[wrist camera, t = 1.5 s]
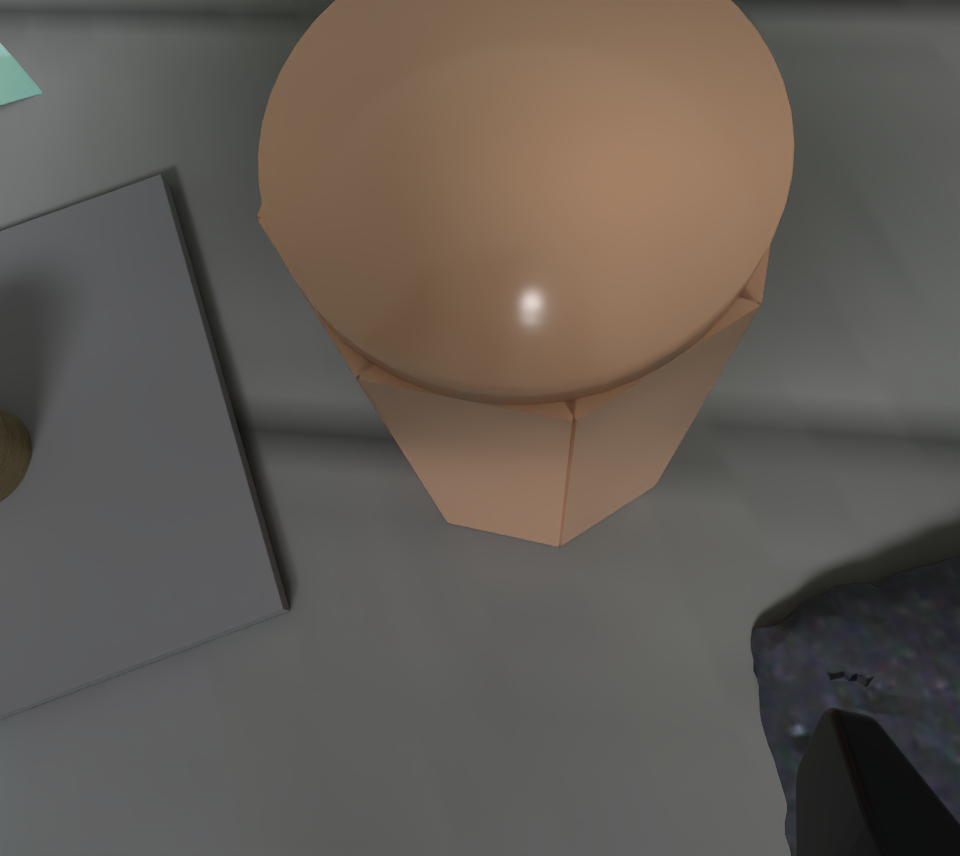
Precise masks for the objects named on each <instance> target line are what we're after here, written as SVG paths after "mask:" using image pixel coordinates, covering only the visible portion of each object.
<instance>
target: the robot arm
mask: <svg viewBox="0 0 960 856" xmlns="http://www.w3.org/2000/svg"><path fill="white" fill-rule="evenodd" d="M796 856H960V823H959V822H958V821H957V820H956V818H955V817H954V816H953V815H952V813H951V812H950V811H949V810H948V809H947V807H946V806H945V805H944V804H943V802H942V801H941V800H940V799H939V797H938V796H937V795H936V794H935V792H934V791H933V790H932V789H931V787H930V786H929V785H928V784H927V782H926V781H925V780H924V779H923V777H922V776H921V775H920V774H919V772H918V771H917V770H916V769H915V767H914V766H913V765H912V764H911V763H910V761H909V760H908V759H907V758H906V756H905V755H904V754H903V753H902V751H901V750H900V749H899V748H898V746H897V745H896V744H895V743H894V741H893V740H892V739H891V738H890V736H889V735H888V734H887V733H886V731H885V730H884V729H883V728H882V726H881V725H880V724H879V723H878V722H877V721H876V720H875V719H873V718H872V717H870V716H868V715H865V714H860V713H856V712H852V711H848V710H844V709H839V708H828V709H826V710H825V711H824V712H823V714H822V715H821V717H820V719H819V721H818V723H817V725H816V728H815V730H814V732H813V734H812V737H811V739H810V741H809V743H808V746H807V748H806V750H805V752H804V754H803V757H802V759H801V761H800V764H799V767H798V771H797V777H796Z"/></svg>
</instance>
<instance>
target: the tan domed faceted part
mask: <svg viewBox="0 0 960 856" xmlns="http://www.w3.org/2000/svg"><path fill="white" fill-rule="evenodd" d="M793 158H794V133H793V123H792V112H791V108H790V105H789V101H788V97H787V93H786V89H785V85H784V82H783V79H782V77H781V75H780V72H779V70H778V68H777V65H776V63H775V61H774V58H773V56H772V54H771V52H770V51H769V49H768V48H767V46H766V44H765V43H764V41H763V39H762V38H761V36H760V34H759V33H758V31H757V30H756V28H755V27H754V26H753V25H752V23H751V22H750V21H749V20H748V19H747V17H746V16H745V15H744V14H743V12H742V11H741V10H740V9H739V8H738V6H737V5H735V4H734V3H733V2H732V1H731V0H335V1H334V2H333V3H332V4H331V5H330V6H329V7H328V8H327V9H326V10H325V11H324V12H323V13H322V14H321V15H320V16H319V17H318V18H317V19H316V20H315V21H314V22H313V23H312V25H311V26H310V27H309V29H308V30H307V31H306V32H305V34H304V35H303V36H302V37H301V39H300V40H299V41H298V43H297V44H296V45H295V47H294V49H293V50H292V52H291V54H290V56H289V57H288V59H287V61H286V62H285V64H284V66H283V67H282V69H281V71H280V73H279V76H278V78H277V80H276V83H275V85H274V87H273V90H272V92H271V94H270V96H269V100H268V104H267V107H266V111H265V115H264V118H263V122H262V126H261V134H260V142H259V150H258V176H259V188H260V194H261V199H262V204H261V207H260V209H259V212H258V215H257V217H258V218H259V219H258V221H259V223H260V224H261V226H262V228H263V229H264V231H265V232H266V234H267V236H268V237H269V239H270V240H271V242H272V244H273V245H274V247H275V249H276V250H277V252H278V253H279V255H280V257H281V258H282V260H283V261H284V263H285V265H286V266H287V268H288V270H289V272H290V273H291V275H292V276H293V278H294V280H295V281H296V283H297V284H298V286H299V287H300V289H301V291H302V292H303V294H304V295H305V297H306V299H307V300H308V302H309V303H310V305H311V307H312V308H313V310H314V311H315V313H316V315H317V316H318V318H319V320H320V321H321V323H322V324H323V326H324V328H325V329H326V331H327V332H328V334H329V336H330V337H331V339H332V341H333V342H334V344H335V345H336V347H337V349H338V350H339V352H340V353H341V355H342V357H343V358H344V360H345V361H346V363H347V365H348V366H349V368H350V370H351V371H352V373H353V374H354V376H355V378H356V379H357V381H358V382H359V384H360V385H361V387H362V389H363V390H364V392H365V393H366V395H367V397H368V398H369V400H370V401H371V403H372V404H373V406H374V408H375V409H376V411H377V412H378V414H379V415H380V417H381V419H382V420H383V422H384V423H385V425H386V426H387V428H388V430H389V431H390V433H391V434H392V436H393V437H394V439H395V441H396V442H397V444H398V445H399V447H400V448H401V450H402V452H403V453H404V455H405V456H406V458H407V460H408V461H409V463H410V464H411V466H412V467H413V469H414V471H415V472H416V474H417V475H418V477H419V478H420V480H421V482H422V483H423V485H424V486H425V488H426V489H427V491H428V493H429V494H430V496H431V497H432V499H433V500H434V502H435V504H436V505H437V507H438V508H439V510H440V511H441V513H442V515H443V516H444V518H445V519H446V521H448V523H451V524H455V525H460V526H465V527H469V528H474V529H478V530H483V531H488V532H492V533H497V534H501V535H506V536H511V537H515V538H520V539H525V540H529V541H534V542H538V543H543V544H548V545H552V546H557V547H559V544H560V546H562V545H564V544H566V543H567V542H569V541H570V540H572V539H573V538H575V537H576V536H578V535H579V534H581V533H583V532H584V531H586V530H587V529H589V528H590V527H592V526H593V525H595V524H597V523H598V522H600V521H601V520H603V519H604V518H606V517H607V516H609V515H611V514H612V513H614V512H615V511H617V510H618V509H620V508H621V507H623V506H625V505H626V504H628V503H629V502H631V501H632V500H634V499H635V498H637V497H638V496H640V495H642V494H643V493H645V492H646V491H648V490H649V489H651V488H652V487H654V486H655V485H656V483H657V482H658V480H659V478H660V476H661V475H662V473H663V471H664V470H665V468H666V466H667V464H668V463H669V461H670V459H671V458H672V456H673V454H674V452H675V451H676V449H677V447H678V446H679V444H680V442H681V440H682V439H683V437H684V435H685V434H686V432H687V430H688V428H689V427H690V425H691V423H692V422H693V420H694V418H695V416H696V415H697V413H698V411H699V410H700V408H701V406H702V404H703V403H704V401H705V399H706V398H707V396H708V394H709V392H710V391H711V389H712V387H713V386H714V384H715V382H716V380H717V379H718V377H719V375H720V374H721V372H722V370H723V368H724V367H725V365H726V363H727V361H728V360H729V358H730V356H731V355H732V353H733V351H734V349H735V348H736V346H737V344H738V343H739V341H740V339H741V337H742V336H743V334H744V332H745V331H746V329H747V327H748V325H749V324H750V322H751V320H752V319H753V317H754V315H755V313H756V312H757V310H758V308H759V307H760V305H761V303H762V299H763V292H764V286H765V279H766V272H767V265H768V259H769V252H770V245H771V240H772V238H773V236H774V233H775V231H776V228H777V226H778V223H779V221H780V218H781V216H782V213H783V210H784V208H785V205H786V201H787V196H788V192H789V187H790V183H791V179H792V173H793Z"/></svg>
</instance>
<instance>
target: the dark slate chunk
mask: <svg viewBox="0 0 960 856" xmlns="http://www.w3.org/2000/svg"><path fill="white" fill-rule="evenodd" d="M751 650H752V655H753V660H754V669H753V670H754V672H755V675H756V677H757V679H758V683H759V700H760V715H761V721H762V725H763V729H764V732H765V736H766V739H767V742H768V745H769V748H770V750H771V753H772V755H773V758H774V761H775V764H776V768H777V772H778V775H779V778H780V781H781V784H782V788H783V791H784V794H785V798H786V802H787V814H786V819H785V835H786V839H787V842H788V844H789V846H790V851H791V856H796V777H797V771H798V767H799V764H800V761H801V759H802V757H803V754H804V752H805V750H806V748H807V746H808V743H809V741H810V739H811V737H812V734H813V732H814V730H815V728H816V725H817V723H818V721H819V719H820V717H821V715H822V714H823V712H824V711H825V710H826V709H828V708H839V709H844V710H848V711H852V712H856V713H860V714H865V715H868V716H870V717H872V718H873V719H875V720H876V721H877V722H878V723H879V724H880V725H881V726H882V728H883V729H884V730H885V731H886V733H887V734H888V735H889V736H890V738H891V739H892V740H893V741H894V743H895V744H896V745H897V746H898V748H899V749H900V750H901V751H902V753H903V754H904V755H905V756H906V758H907V759H908V760H909V761H910V763H911V764H912V765H913V766H914V767H915V769H916V770H917V771H918V772H919V774H920V775H921V776H922V777H923V779H924V780H925V781H926V782H927V784H928V785H929V786H930V787H931V789H932V790H933V791H934V792H935V794H936V795H937V796H938V797H939V799H940V800H941V801H942V802H943V804H944V805H945V806H946V807H947V809H948V810H949V811H950V812H951V813H952V815H953V816H954V817H955V818H956V820H957V821H958V822H959V823H960V557H955V558H951V559H947V560H944V561H941V562H938V563H935V564H932V565H927V566H921V567H916V568H913V569H911V570H909V571H907V572H900V573H897V574H895V575H893V576H891V577H889V578H887V579H885V580H884V581H882V582H881V583H880V584H879V585H878V586H877V587H876V586H873V585H871V584H869V583H853V584H847V585H840V586H835V587H834V588H833V589H831V590H830V591H829V592H827V593H825V594H824V595H822V596H820V597H815V598H811V599H808V600H806V601H805V602H803V603H802V604H801V605H800V606H799V607H798V608H797V609H796V610H795V611H794V612H792V613H791V614H790V616H789V617H788V619H787V620H785V621H783V622H782V623H780V624H778V625H775V626H770V627H763V628H757V629H754V630H753V632H752V638H751Z"/></svg>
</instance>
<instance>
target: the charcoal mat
mask: <svg viewBox="0 0 960 856" xmlns="http://www.w3.org/2000/svg"><path fill="white" fill-rule="evenodd" d="M0 407H1V408H3V409H5V410H7V411H9V412H11V413H13V414H14V415H16V416H17V417H18V418H19V419H20V420H21V421H22V422H23V423H24V425H25V426H26V428H27V430H28V432H29V435H30V438H31V444H32V454H31V460H30V464H29V467H28V470H27V472H26V474H25V476H24V478H23V480H22V481H21V483H20V484H19V486H18V487H17V488H16V489H15V490H14V491H13V492H12V493H11V494H10V495H9V496H8V497H7V498H5V499H4V500H3V501H1V502H0V720H1V719H3V718H6V717H9V716H11V715H14V714H17V713H19V712H22V711H25V710H27V709H30V708H33V707H35V706H38V705H41V704H43V703H46V702H49V701H51V700H54V699H57V698H59V697H62V696H65V695H67V694H70V693H73V692H75V691H78V690H81V689H83V688H86V687H89V686H91V685H94V684H97V683H99V682H102V681H104V680H107V679H110V678H112V677H115V676H118V675H120V674H123V673H126V672H128V671H131V670H134V669H136V668H139V667H142V666H144V665H147V664H150V663H152V662H155V661H158V660H160V659H163V658H166V657H168V656H171V655H174V654H176V653H179V652H182V651H184V650H187V649H190V648H192V647H195V646H198V645H200V644H203V643H206V642H208V641H211V640H214V639H216V638H219V637H222V636H224V635H227V634H230V633H232V632H235V631H238V630H240V629H243V628H246V627H248V626H251V625H254V624H256V623H259V622H262V621H264V620H267V619H270V618H272V617H275V616H278V615H280V614H283V613H286V612H288V611H290V609H289V605H288V602H287V598H286V595H285V591H284V588H283V584H282V581H281V577H280V574H279V570H278V567H277V563H276V559H275V556H274V552H273V549H272V545H271V542H270V538H269V535H268V531H267V528H266V524H265V521H264V517H263V514H262V510H261V507H260V503H259V500H258V496H257V493H256V489H255V486H254V482H253V478H252V475H251V471H250V468H249V464H248V461H247V457H246V454H245V450H244V447H243V443H242V440H241V436H240V433H239V429H238V426H237V422H236V419H235V415H234V412H233V408H232V405H231V401H230V398H229V394H228V390H227V387H226V383H225V380H224V376H223V373H222V369H221V366H220V362H219V359H218V355H217V352H216V348H215V345H214V341H213V338H212V334H211V331H210V327H209V324H208V320H207V317H206V313H205V310H204V306H203V302H202V299H201V295H200V292H199V288H198V285H197V281H196V278H195V274H194V271H193V267H192V264H191V260H190V257H189V253H188V250H187V246H186V243H185V239H184V236H183V232H182V229H181V225H180V222H179V218H178V214H177V211H176V207H175V204H174V200H173V197H172V193H171V190H170V186H169V184H168V183H167V182H166V180H165V179H164V178H163V176H162V175H161V174H159V175H157V176H154V177H151V178H148V179H145V180H143V181H140V182H137V183H134V184H131V185H128V186H126V187H123V188H120V189H117V190H114V191H112V192H109V193H106V194H103V195H100V196H98V197H95V198H92V199H89V200H86V201H84V202H81V203H78V204H75V205H72V206H70V207H67V208H64V209H61V210H58V211H55V212H53V213H50V214H47V215H44V216H41V217H39V218H36V219H33V220H30V221H27V222H25V223H22V224H19V225H16V226H13V227H11V228H8V229H5V230H2V231H0Z"/></svg>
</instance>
